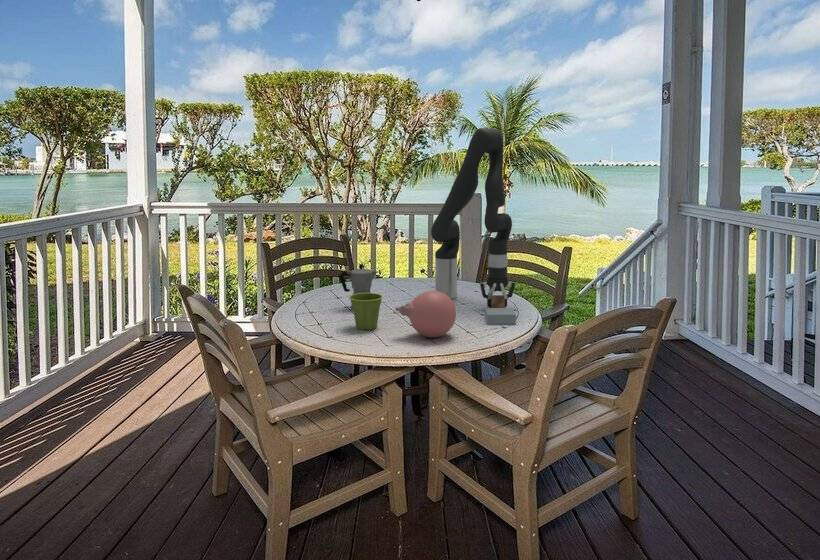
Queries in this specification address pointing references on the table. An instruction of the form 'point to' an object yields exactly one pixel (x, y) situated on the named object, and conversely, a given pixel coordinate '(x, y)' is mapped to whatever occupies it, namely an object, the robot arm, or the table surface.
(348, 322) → the table surface
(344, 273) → the coffeepot
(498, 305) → the walnut block
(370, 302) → the plant pot
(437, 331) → the balloon
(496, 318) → the slate base block
